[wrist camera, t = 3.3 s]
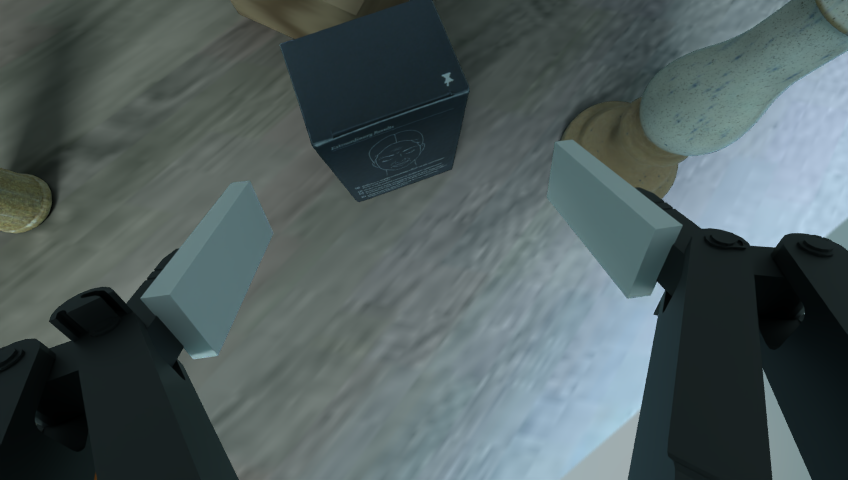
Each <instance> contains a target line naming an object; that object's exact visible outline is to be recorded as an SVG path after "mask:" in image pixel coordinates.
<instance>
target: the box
mask: <svg viewBox="0 0 848 480" xmlns="http://www.w3.org/2000/svg"><path fill="white" fill-rule="evenodd" d="M280 48H281V51H282V54H283V57H284V60H285V63H286V66H287V69H288V72H289V75H290V78H291V81H292V84H293V87H294V90H295V94H296V97H297V100H298V103H299V106H300V109H301V112H302V115H303V118H304V122H305V125H306V128H307V131H308V134H309V138H310V141H311V144H312V146H313V148H314V149H315V150H316V152H317V153H318V154H319V156H320V157H321V158H322V159H323V160H324V162H325V163H326V164H327V165H328V166H329V167H330V169H331V170H332V172H334V174H335V175H336V176H337V177H338V179H339V180H340V181H341V183H342V184H343V185H344V186H345V187H346V188H347V190H348V191H349V192H350V193H351V195H352V196H353V197H354V198H355V200H357V201H358V202H361V201H364V200H367V199H370V198H373V197H375V196H378V195H381V194H384V193H387V192H390V191H392V190H395V189H398V188H401V187H404V186H406V185H409V184H412V183H415V182H418V181H420V180H423V179H426V178H429V177H432V176H434V175H437V174H440V173H443V172H445V171H448V170H451V169H452V166H453V162H454V158H455V153H456V148H457V144H458V139H459V135H460V130H461V126H462V121H463V118H464V112H465V108H466V103H467V98H468V94H469V85H468V83H467V80H466V78H465V76H464V74H463V72H462V69H461V67H460V65H459V62H458V60H457V58H456V55H455V53H454V51H453V48H452V46H451V43H450V41H449V39H448V36H447V34H446V32H445V29H444V27H443V24H442V22H441V19H440V17H439V15H438V13H437V10H436V8H435V6H434V4H433V1H432V0H410V1H408V2H405V3H402V4H398V5H396V6H393V7H389V8H386V9H384V10H381V11H378V12H375V13H372V14H369V15H365V16H363V17H360V18H357V19H354V20H351V21H348V22H345V23H342V24H339V25H336V26H333V27H330V28H327V29H324V30H321V31H318V32H315V33H312V34H309V35H306V36H303V37H300V38H297V39H294V40H290V41H287V42H284V43H281V44H280Z"/></svg>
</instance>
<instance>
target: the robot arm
mask: <svg viewBox="0 0 848 480" xmlns="http://www.w3.org/2000/svg"><path fill="white" fill-rule="evenodd" d="M547 198H548V200H549V201H550V202H551V203H552V205H553V206H554V207H555V208H556V210H557V211H558V212H559V213H560V215H561V216H562V217H563V218H564V220H565V221H566V222H567V223H568V225H569V226H570V227H571V228H572V230H573V231H574V232H575V233H576V235H577V236H578V237H579V238H580V240H581V241H582V242H583V243H584V245H585V246H586V247H587V248H588V250H589V251H590V252H591V253H592V255H593V256H594V257H595V258H596V260H597V261H598V262H599V263H600V265H601V266H602V267H603V269H604V270H605V271H606V272H607V274H608V275H609V276H610V277H611V279H612V280H613V281H614V282H615V284H616V285H617V286H618V287H619V289H620V290H621V291H622V292H623V294H624V295H625V296H626V297H627V299H628V298H635V297H642V296H649V295H651V293H652V291H653V289H654V287H655V285H656V283H657V282H658V283H659V284H660V285H661V286H662V287H663V288H664V289H665V292H664V294H663V296H662V298H661V300H660V302H659V304H658V306H657V308H656V310H655V312H654V315H657V316H658V319H657V324H656V330H655V335H654V341H653V346H652V351H651V357H650V362H649V368H648V373H647V378H646V384H645V389H644V395H643V400H642V405H641V411H640V416H639V422H638V427H637V433H636V438H635V443H634V449H633V454H632V460H631V465H630V471H629V476H628V480H772V471H771V460H770V448H769V437H768V427H767V414H766V404H765V392H764V382H763V370H764V372H765V374H766V376H767V379H768V381H769V383H770V386H771V388H772V390H773V392H774V395H775V397H776V399H777V401H778V404H779V406H780V408H781V411H782V413H783V415H784V417H785V420H786V422H787V424H788V427H789V429H790V431H791V433H792V435H793V438H794V440H795V442H796V444H797V447H798V449H799V451H800V454H801V456H802V458H803V460H804V463H805V465H806V467H807V469H808V472H809V474H810V476H811V479H812V480H848V251H847V250H846V249H845V248H844V247H842V246H841V245H839V244H837V243H835V242H832V241H831V240H829V239H827V238H824V237H823V238H822V237H821V236H817V235H809V234H802V233H792V234H788V235H785V236H784V237H783V238H782V239H781V241H780V242H779V243H778V245H777V246H776V248H773V247H759V246H750V245H749V243H748V242H747V241H745V240H744V239H743V238H741V237H739V236H737V235H735V234H733V233H730V232H727V231H724V230H719V229H711V228H708V229H701V228H700V227H698V226H697V225H696V224H694V223H693V222H692V221H690V220H689V219H688V218H686V217H685V216H684V215H682V214H681V213H680V212H678V211H677V210H676V209H673V207H671V206H670V205H669V204H667V203H664V201H663V200H662V199H661V198H659V197H658V196H657V195H655V194H654V193H652V192H650V191H647V190H645V189H642V188H640V187H636V188H634V187H633V186H632V185H630V184H629V183H628V182H626V181H625V180H624V179H623V178H621V177H620V176H619V175H617V174H616V173H615V172H614V171H612V170H611V169H610V168H608V167H607V166H606V165H605V164H603V163H602V162H601V161H599V160H598V159H597V158H596V157H594V156H593V155H592V154H590V153H589V152H588V151H587V150H585V149H584V148H583V147H581V146H580V145H579V144H578V143H576V142H575V141H574V140H564V141H557V142H555V145H554V152H553V159H552V165H551V172H550V178H549V185H548V192H547ZM272 235H273V231H272V229H271V227H270V224H269V222H268V220H267V218H266V215H265V213H264V211H263V209H262V207H261V204H260V202H259V200H258V198H257V195H256V193H255V191H254V189H253V187H252V184H251V182H250V180H249V181H242V182H234V183H231V184H230V185H229V187H228V188H227V189H226V190H225V192H224V193H223V194H222V195H221V197H220V198H219V199H218V201H217V202H216V203H215V204H214V206H213V207H212V208H211V209H210V211H209V212H208V213H207V214H206V216H205V217H204V218H203V219H202V221H201V222H200V223H199V225H198V226H197V227H196V228H195V230H194V231H193V232H192V233H191V235H190V236H189V237H188V238H187V240H186V241H185V242H184V244H183V245H182V246H181V247H180V248H179V249H176V250H174V251H173V252H172V253H170V254H169V255H168V256H166V257H165V258H163V259H162V261H161V262H160V263H159V264H158V266H157V267H156V268H155V269H154V270H155V271H154V272H152V273H151V274H150V275H149V276H148V278H147V280H146V281H144V283H143V284H142V285H141V286H140V287H139V289H138V290H137V291H136V292H135V294H134V295H133V296H132V297H131V298H130V300H129V301H128V302H127V303H125V302H124V301H123V300H122V299H121V298H120V297H119V296H118V295H117V294H116V292H115V291H114V290H112V289H111V288H110V287H99V288H94V289H90V290H88V291H85V292H83V293H80V294H78V295H76V296H74V297H73V298H71V299H69V300H67V301H66V302H65V303H63V304H62V305H61V306H59V307H58V308H57V309H56V310H55V311H54V313H53V314H52V315H51V317H50V320H49V322H50V323H51V324H53V325H54V326H55V327H56V328H57V329H58V330H60V331H61V332H62V333H63V334H64V335H66V336H67V337H68V338H69V339H70V340H72V341H69V342H66V343H64V344H61V345H58V346H55V347H52V348H48V347H46V346H45V345H44V344H42V343H41V342H40V341H38V340H37V339H25V340H21V341H18V342H15V343H12V344H10V345H8V346H6V347H2V348H1V349H0V480H94V478H95V472H96V477H97V480H239V479H238V477H237V475H236V473H235V471H234V469H233V467H232V465H231V463H230V461H229V459H228V457H227V455H226V452H225V450H224V448H223V446H222V444H221V442H220V440H219V438H218V436H217V434H216V432H215V430H214V428H213V426H212V424H211V422H210V420H209V418H208V415H207V413H206V411H205V409H204V407H203V405H202V403H201V401H200V399H199V397H198V395H197V393H196V391H195V389H194V387H193V385H192V383H191V381H190V378H189V376H188V374H187V372H186V370H185V368H184V366H183V365H182V364H181V363H180V361H179V360H178V359H177V358H178V356H179V355H180V353H181V351H182V349H183V348H184V349H185V350H186V351H187V353H188V354H189V355H190V356H191V357H192V358H193V359H198V358H205V357H213V356H218V355H219V352H220V350H221V348H222V346H223V344H224V341H225V339H226V337H227V335H228V333H229V330H230V328H231V326H232V324H233V322H234V319H235V317H236V315H237V313H238V310H239V308H240V306H241V304H242V302H243V299H244V297H245V295H246V293H247V291H248V288H249V286H250V284H251V282H252V279H253V277H254V275H255V273H256V271H257V268H258V266H259V264H260V262H261V260H262V257H263V255H264V253H265V251H266V249H267V246H268V244H269V242H270V240H271V237H272ZM804 313H805V315H804ZM762 368H763V370H762ZM36 423H37V425H36Z"/></svg>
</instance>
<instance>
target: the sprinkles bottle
mask: <svg viewBox="0 0 848 480" xmlns="http://www.w3.org/2000/svg"><path fill="white" fill-rule="evenodd" d="M51 205H52V196H51V190H50V188H49V187H48V185H47V183H45V182H44V181H43V180H42V179H40V178H38V177H36V176H33V175H30V174H20V173H16V172H12V171H9V170H6V169H2V168H0V231H3V232H10V233H20V232H26V231H29V230H31V229H33V228H35V227H37V226H38V225H40V224H41V223H42V222H43V221H44V220H45V219H46V217H47V216H48V214H49V212H50V208H51Z"/></svg>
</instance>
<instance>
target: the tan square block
mask: <svg viewBox="0 0 848 480" xmlns="http://www.w3.org/2000/svg"><path fill="white" fill-rule="evenodd" d="M230 1H231V2H232V4H233V5H234V7H235V8H236V10H237V11H238V13H239V14H240V15H243V16H245V17H247V18H249V19H251V20H254V21H256V22H258V23H260V24H263V25H265V26H267V27H269V28H272V29H274V30H276V31H278V32H280V33H283V34H285V35H287V36H289V37H292V38H294V39H297V38H300V37H303V36H306V35H309V34H312V33H315V32H318V31H321V30H324V29H327V28H330V27H333V26H336V25H339V24H342V23H345V22H348V21H351V20H354V19H357V18H360V17H363V16H365V15H369V14H372V13H375V12H378V11H381V10H384V9H386V8H389V7H393V6H396V5H398V4H402V3H405V2H408V1H409V0H230Z"/></svg>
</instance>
